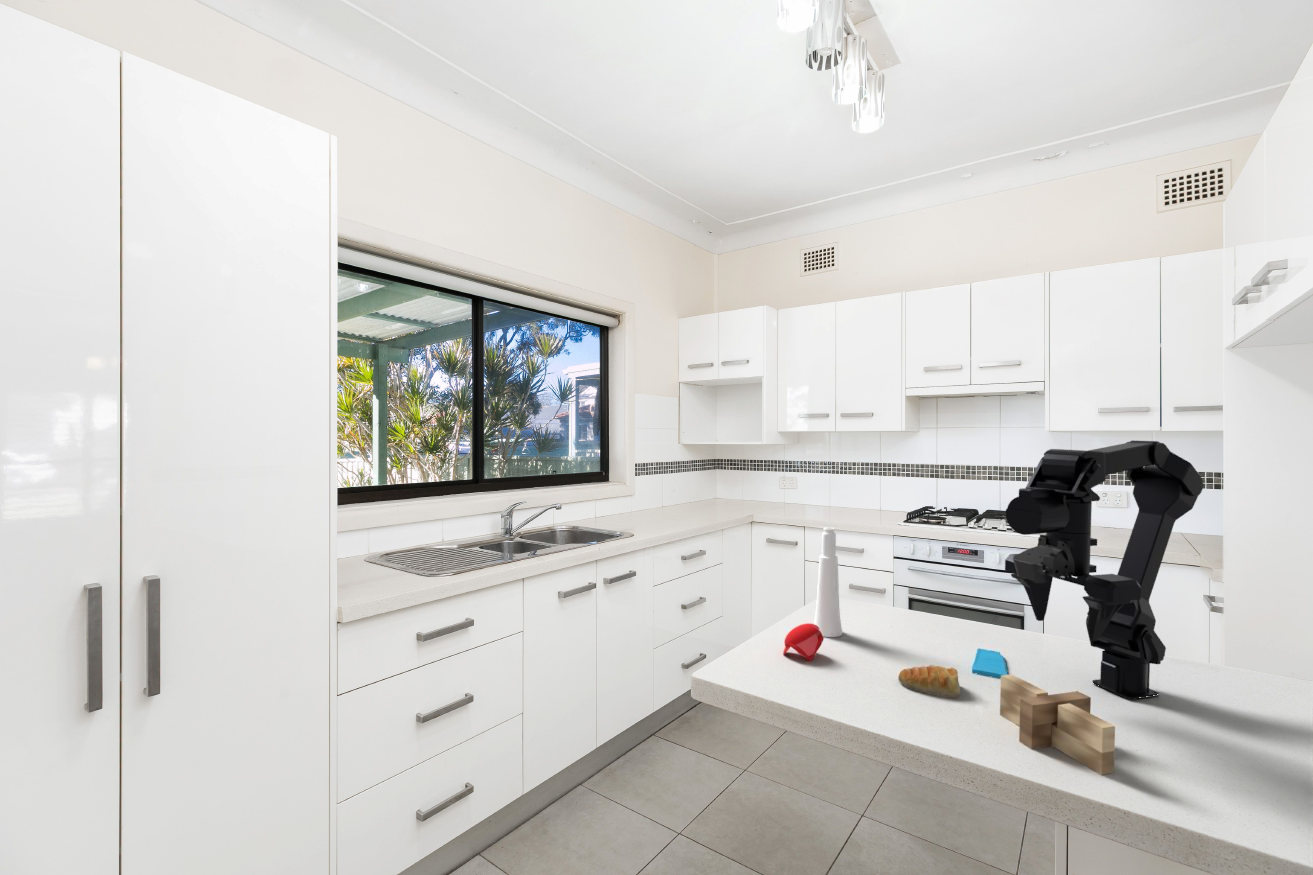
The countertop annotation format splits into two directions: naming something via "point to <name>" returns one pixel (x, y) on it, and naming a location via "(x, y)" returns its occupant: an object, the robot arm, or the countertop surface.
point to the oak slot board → (1065, 726)
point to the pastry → (932, 680)
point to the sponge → (989, 663)
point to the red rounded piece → (804, 640)
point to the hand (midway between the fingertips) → (1065, 629)
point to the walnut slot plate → (1045, 716)
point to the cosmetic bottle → (828, 588)
